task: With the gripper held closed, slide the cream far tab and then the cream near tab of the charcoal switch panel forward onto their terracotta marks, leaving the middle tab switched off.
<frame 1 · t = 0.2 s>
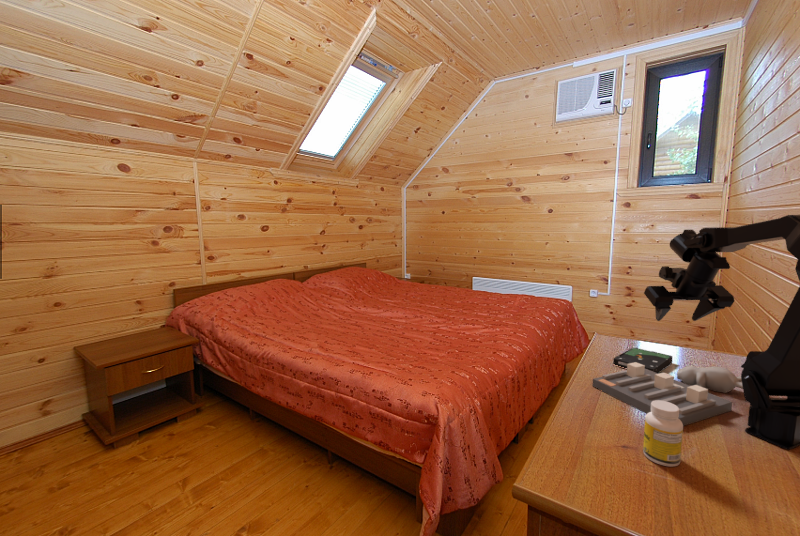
hand: (675, 319, 98), 15 cm above the table, tool tilted 30°, fingers open, 9 cm apart
tab near: (696, 394, 79), point 4 cm above the table, slide at 0.0 cm
tab far: (635, 370, 92), point 4 cm above the table, slide at 0.0 cm
bunny figurine: (715, 389, 90), on the table
supplement bottle: (660, 458, 64), on the table
switch panel: (656, 397, 86), on the table
disk drive: (642, 366, 105), on the table
tab middle: (663, 381, 86), point 4 cm above the table, slide at 0.0 cm
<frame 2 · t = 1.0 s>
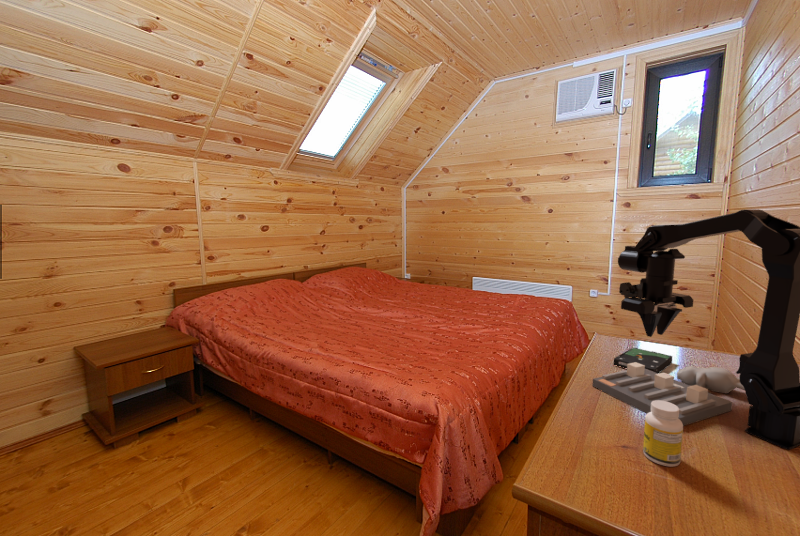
hand: (654, 335, 93), 12 cm above the table, tool pointing down, fingers open, 4 cm apart
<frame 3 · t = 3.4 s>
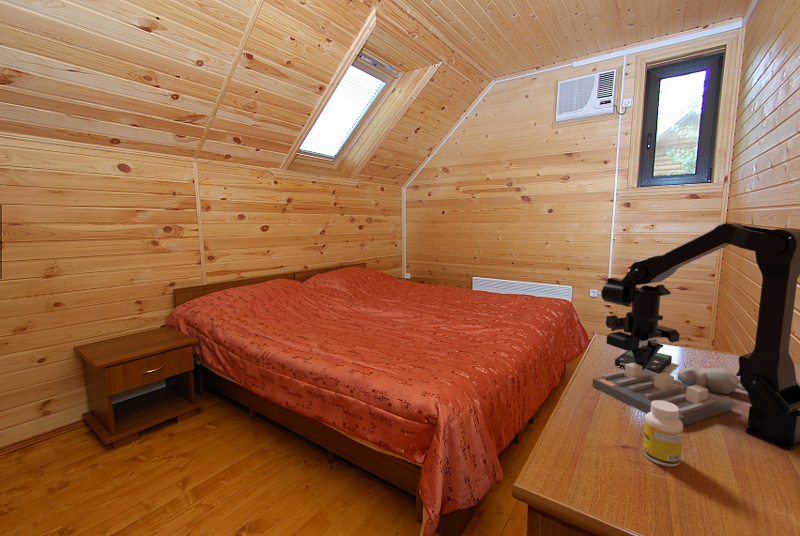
hand: (640, 369, 93), 4 cm above the table, tool pointing down, fingers closed
tab far: (633, 370, 92), point 4 cm above the table, slide at 0.9 cm, touching gripper
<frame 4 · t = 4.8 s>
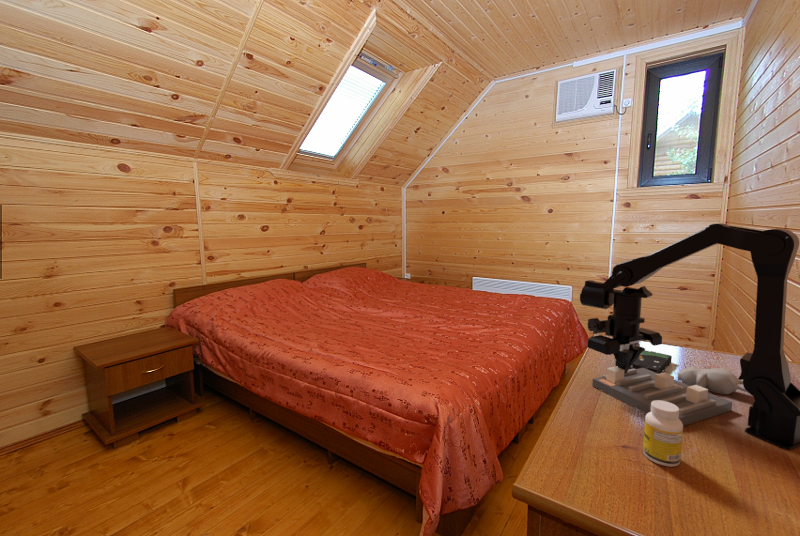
hand: (622, 373, 91), 4 cm above the table, tool pointing down, fingers closed
tab far: (615, 374, 90), point 4 cm above the table, slide at 7.1 cm, touching gripper
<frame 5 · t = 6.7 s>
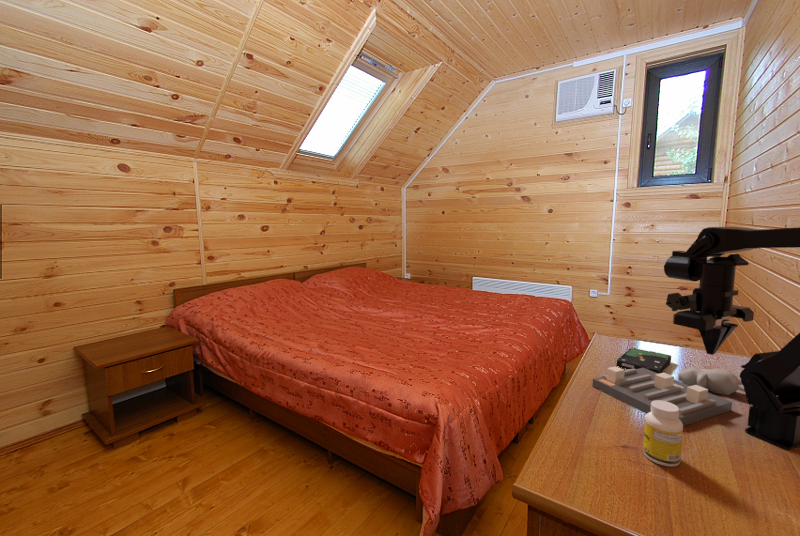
hand: (710, 354, 81), 12 cm above the table, tool pointing down, fingers closed
tab far: (615, 374, 90), point 4 cm above the table, slide at 7.0 cm
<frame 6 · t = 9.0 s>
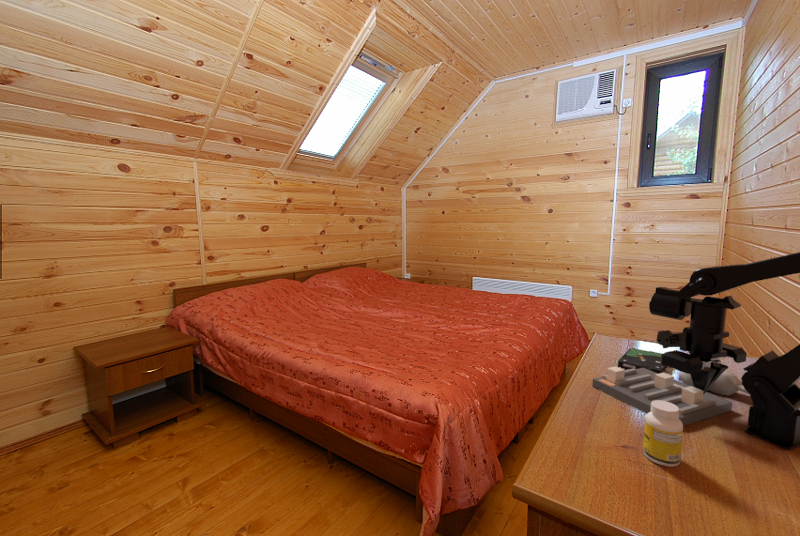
hand: (699, 394, 80), 4 cm above the table, tool pointing down, fingers closed
tab near: (692, 396, 79), point 4 cm above the table, slide at 1.6 cm, touching gripper
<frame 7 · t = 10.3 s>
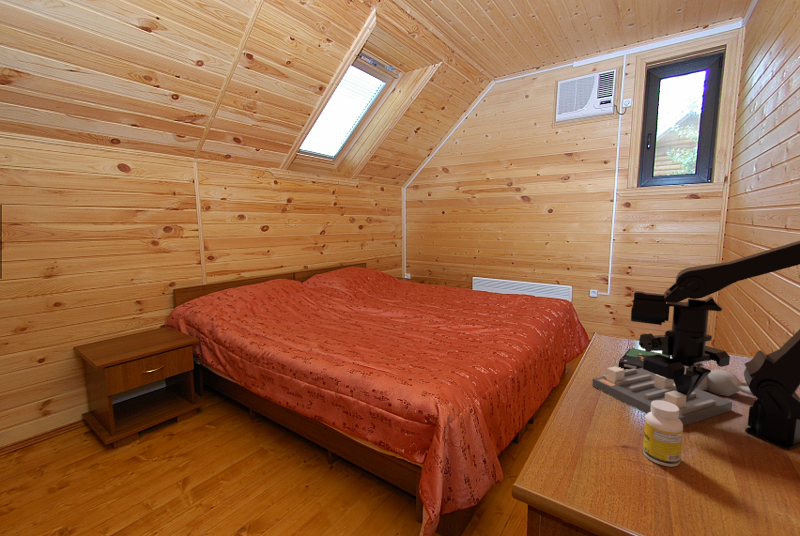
hand: (682, 398, 78), 4 cm above the table, tool pointing down, fingers closed
tab near: (675, 400, 77), point 4 cm above the table, slide at 7.1 cm, touching gripper
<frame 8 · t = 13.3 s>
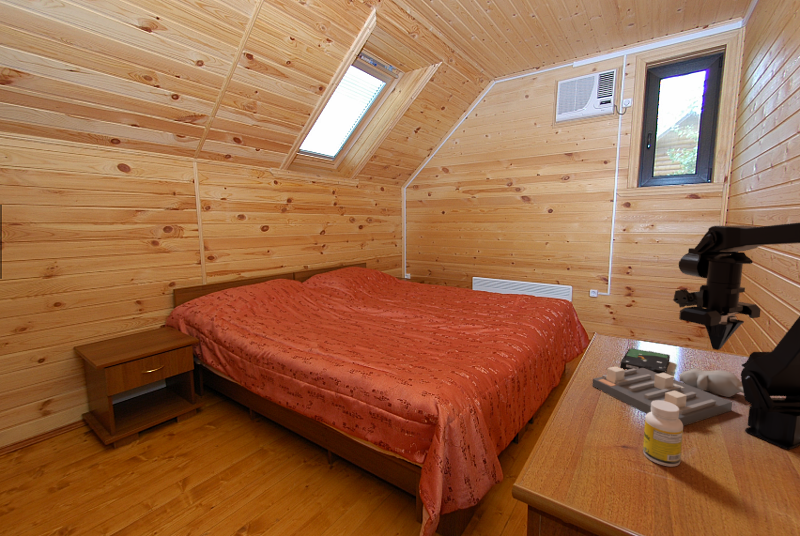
hand: (716, 349, 83), 12 cm above the table, tool pointing down, fingers closed
tab near: (675, 400, 77), point 4 cm above the table, slide at 7.0 cm
at the end: tab far slide at 7.0 cm; tab near slide at 7.0 cm; tab middle slide at 0.0 cm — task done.
